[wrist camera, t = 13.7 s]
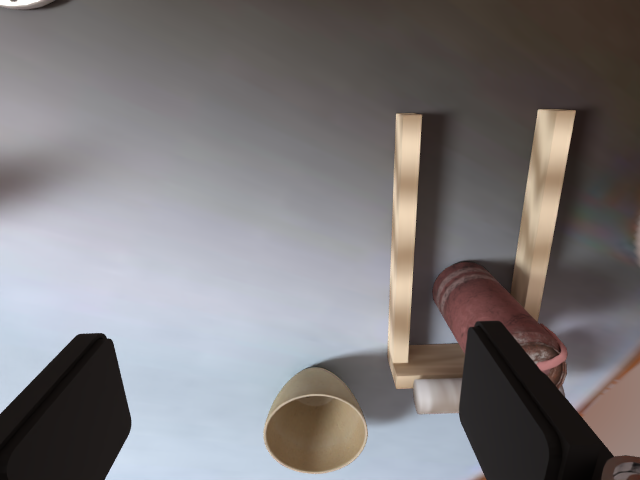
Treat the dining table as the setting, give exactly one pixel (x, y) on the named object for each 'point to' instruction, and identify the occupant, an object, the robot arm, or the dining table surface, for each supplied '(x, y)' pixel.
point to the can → (495, 315)
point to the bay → (529, 271)
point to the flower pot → (315, 423)
